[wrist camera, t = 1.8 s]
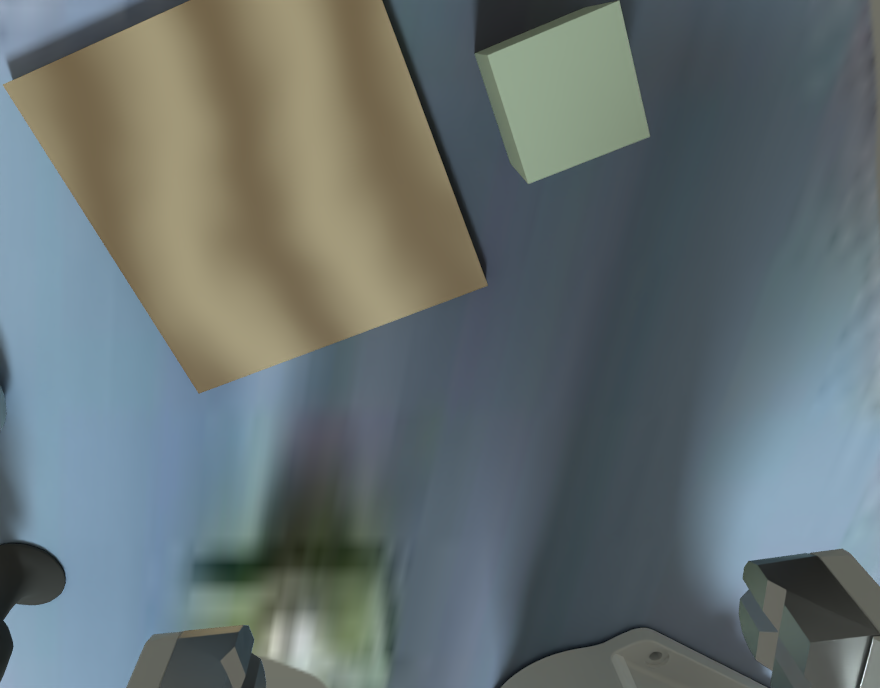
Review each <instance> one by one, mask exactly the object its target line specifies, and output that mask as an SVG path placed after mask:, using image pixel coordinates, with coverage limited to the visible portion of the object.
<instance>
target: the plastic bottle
mask: <svg viewBox="0 0 880 688" xmlns="http://www.w3.org/2000/svg"><path fill="white" fill-rule="evenodd" d="M6 414H7V413H6V402H5V396H4V393H3V390H2V387H1V386H0V431H1V429H2V427H3V425H4V424H5V419H6Z"/></svg>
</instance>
